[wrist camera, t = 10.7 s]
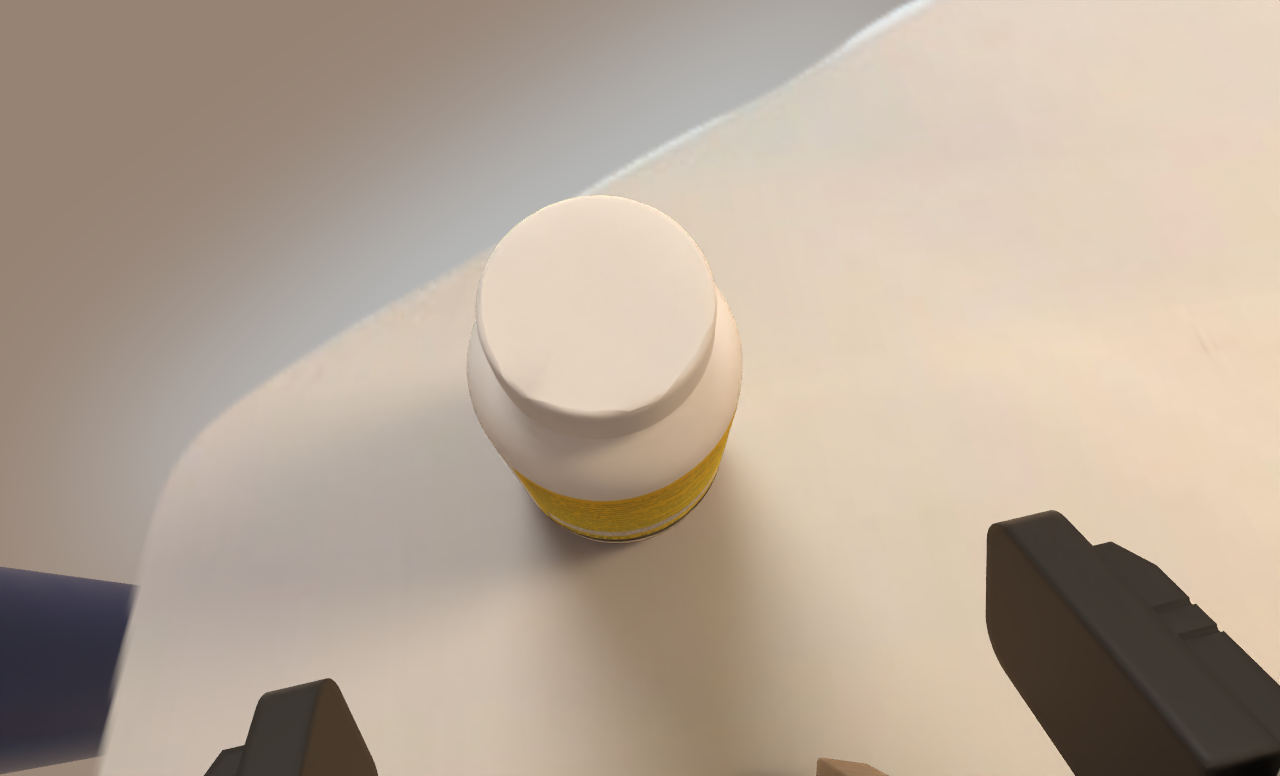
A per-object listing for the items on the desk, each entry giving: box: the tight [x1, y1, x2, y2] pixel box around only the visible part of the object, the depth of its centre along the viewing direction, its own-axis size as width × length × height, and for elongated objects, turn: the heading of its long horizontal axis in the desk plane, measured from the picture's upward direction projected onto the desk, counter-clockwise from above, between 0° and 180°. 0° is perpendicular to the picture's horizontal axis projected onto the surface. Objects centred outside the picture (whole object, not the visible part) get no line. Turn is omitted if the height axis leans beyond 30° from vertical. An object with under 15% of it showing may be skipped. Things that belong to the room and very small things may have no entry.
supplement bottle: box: [467, 195, 742, 543], centre depth 19 cm, size 5×5×10 cm
